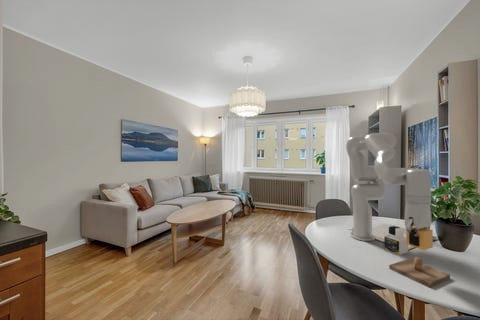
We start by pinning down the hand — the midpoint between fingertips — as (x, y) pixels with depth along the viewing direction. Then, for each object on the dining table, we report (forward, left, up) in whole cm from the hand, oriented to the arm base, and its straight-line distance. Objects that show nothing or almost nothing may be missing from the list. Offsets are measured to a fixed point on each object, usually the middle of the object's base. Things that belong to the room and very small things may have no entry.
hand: (419, 243), depth 84 cm
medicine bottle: (-16, +13, -13) cm, 25 cm away
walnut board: (0, 0, -13) cm, 13 cm away
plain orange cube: (0, 0, -1) cm, 1 cm away
